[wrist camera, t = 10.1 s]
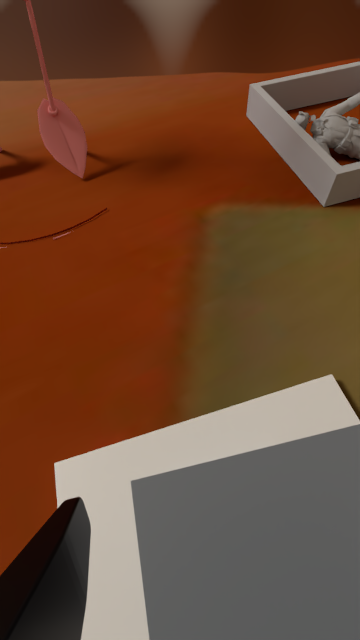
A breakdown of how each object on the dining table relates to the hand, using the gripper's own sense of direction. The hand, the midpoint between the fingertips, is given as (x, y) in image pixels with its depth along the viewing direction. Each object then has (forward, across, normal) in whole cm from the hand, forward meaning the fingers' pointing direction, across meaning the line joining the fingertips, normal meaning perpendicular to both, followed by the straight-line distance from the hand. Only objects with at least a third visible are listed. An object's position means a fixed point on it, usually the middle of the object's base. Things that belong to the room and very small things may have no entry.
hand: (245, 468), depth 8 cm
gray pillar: (+5, 0, +7) cm, 8 cm away
